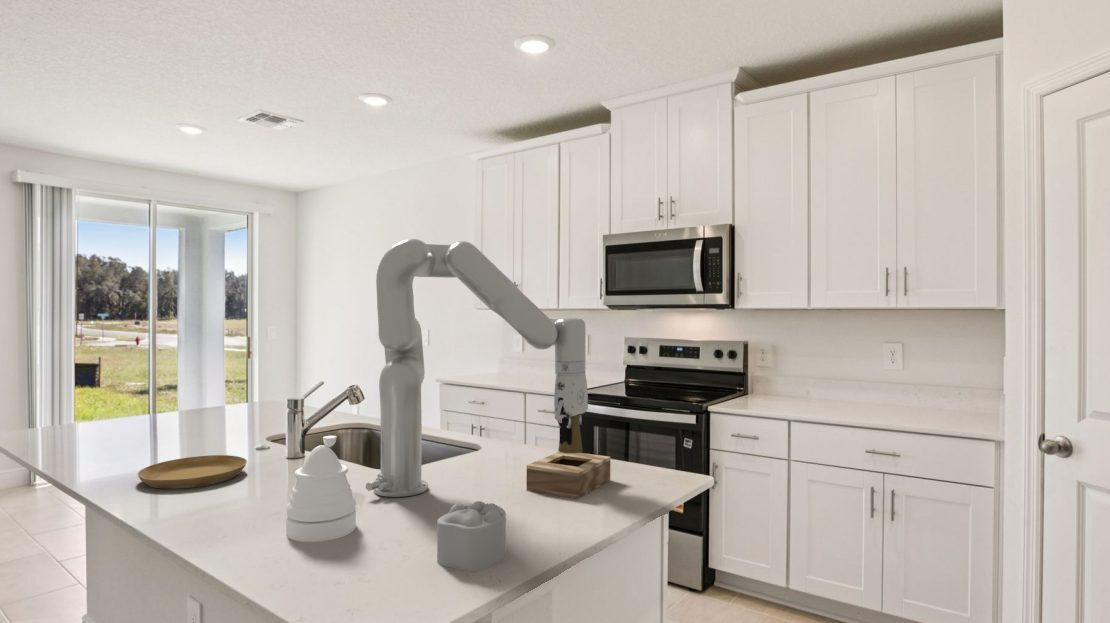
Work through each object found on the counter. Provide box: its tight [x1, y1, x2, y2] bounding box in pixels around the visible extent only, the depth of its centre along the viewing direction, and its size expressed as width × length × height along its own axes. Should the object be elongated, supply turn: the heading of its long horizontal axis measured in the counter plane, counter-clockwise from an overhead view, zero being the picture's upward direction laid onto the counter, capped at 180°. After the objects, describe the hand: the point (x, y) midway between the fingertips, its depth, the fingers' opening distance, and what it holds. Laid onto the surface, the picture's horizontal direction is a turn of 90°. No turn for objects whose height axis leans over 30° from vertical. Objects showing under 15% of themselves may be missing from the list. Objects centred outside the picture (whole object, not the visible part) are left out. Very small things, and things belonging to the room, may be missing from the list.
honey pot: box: [285, 435, 357, 543], centre depth 125 cm, size 13×13×18 cm
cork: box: [557, 412, 583, 453], centre depth 157 cm, size 6×6×11 cm
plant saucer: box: [137, 454, 248, 490], centre depth 162 cm, size 24×24×3 cm
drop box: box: [526, 451, 611, 499], centre depth 157 cm, size 18×14×6 cm
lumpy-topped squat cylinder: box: [436, 500, 507, 573], centre depth 113 cm, size 10×13×9 cm
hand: (570, 441), depth 157 cm, fingers closed on cork, 4 cm apart
